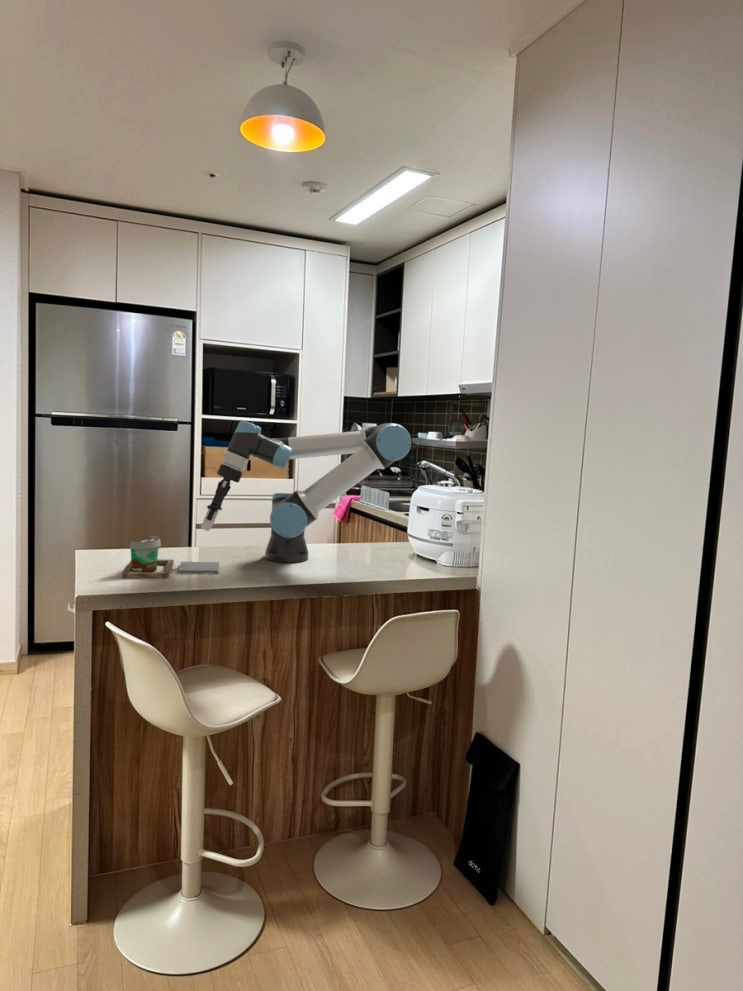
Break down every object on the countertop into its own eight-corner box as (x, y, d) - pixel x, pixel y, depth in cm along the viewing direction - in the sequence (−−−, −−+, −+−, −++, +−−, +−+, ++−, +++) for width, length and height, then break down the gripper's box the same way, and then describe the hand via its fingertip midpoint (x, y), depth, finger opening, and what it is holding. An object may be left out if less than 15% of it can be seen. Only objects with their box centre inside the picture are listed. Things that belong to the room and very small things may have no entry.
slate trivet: (219, 565, 226) (219, 562, 226) (218, 573, 214) (218, 570, 214) (181, 564, 223) (181, 561, 223) (178, 573, 212) (178, 570, 212)
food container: (147, 576, 206) (148, 543, 205) (129, 574, 208) (129, 541, 206) (167, 567, 218) (168, 536, 217) (150, 565, 220) (150, 535, 218)
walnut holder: (173, 564, 223) (173, 559, 223) (167, 578, 205) (167, 573, 205) (131, 563, 221) (131, 559, 221) (122, 578, 202) (122, 573, 202)
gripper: (223, 463, 233) (198, 521, 232) (219, 461, 209) (191, 526, 208) (243, 472, 234) (219, 530, 233) (242, 471, 210) (214, 535, 209)
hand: (205, 528), depth 221 cm, fingers open, 13 cm apart
